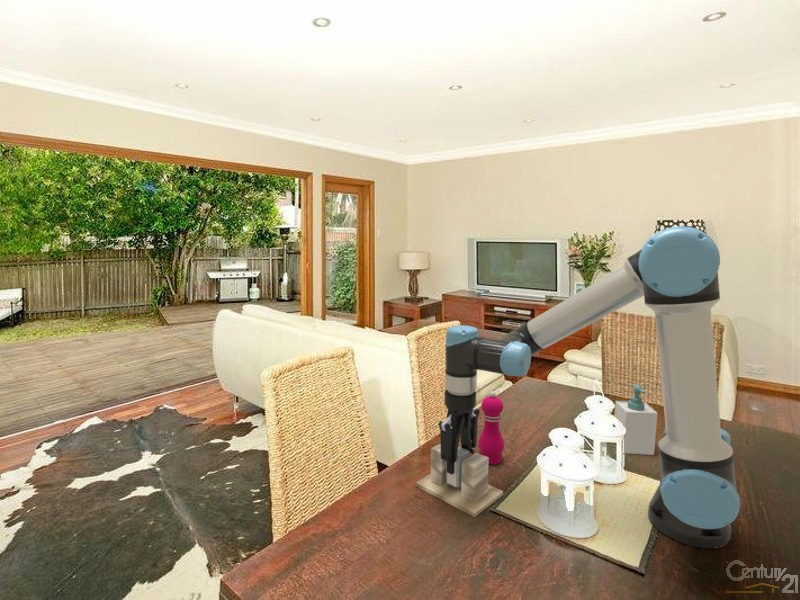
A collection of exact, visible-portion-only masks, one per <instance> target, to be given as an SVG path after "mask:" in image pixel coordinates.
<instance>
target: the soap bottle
mask: <svg viewBox="0 0 800 600" xmlns="http://www.w3.org/2000/svg"><path fill="white" fill-rule="evenodd" d="M631 386H632V387H633V394H634V395H633V396H631V397H630V399H629V400H628V401H627V400H615V405H614V408H615V409H614V417H616V418H617V419H618V420H619V421H620V422H621V423H622V424H623V426H624V427H625V428H626V435H625V438H624V451H625V453H624V454H629V455H648V456H649V455H650V456H654V455H655V449H656V446H655V445H656V436H657V435H656V432H657V423H658V412H657V411H656V410H655V409H654V408H653V407H652V406H650V405H649V404H648V403H647V402H645V401H643V398H642V397H640V394H645V393H646V391H645V389H643V388H642V387H641V386H640V385H639V384H638V383H633V384H631Z"/></svg>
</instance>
